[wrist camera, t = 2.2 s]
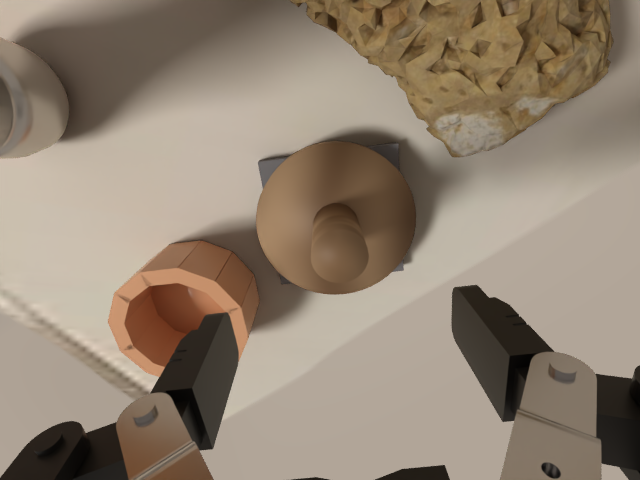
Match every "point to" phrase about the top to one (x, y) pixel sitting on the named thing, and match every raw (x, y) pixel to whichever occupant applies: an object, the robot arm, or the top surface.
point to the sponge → (477, 58)
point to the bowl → (181, 301)
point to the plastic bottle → (29, 102)
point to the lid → (335, 218)
